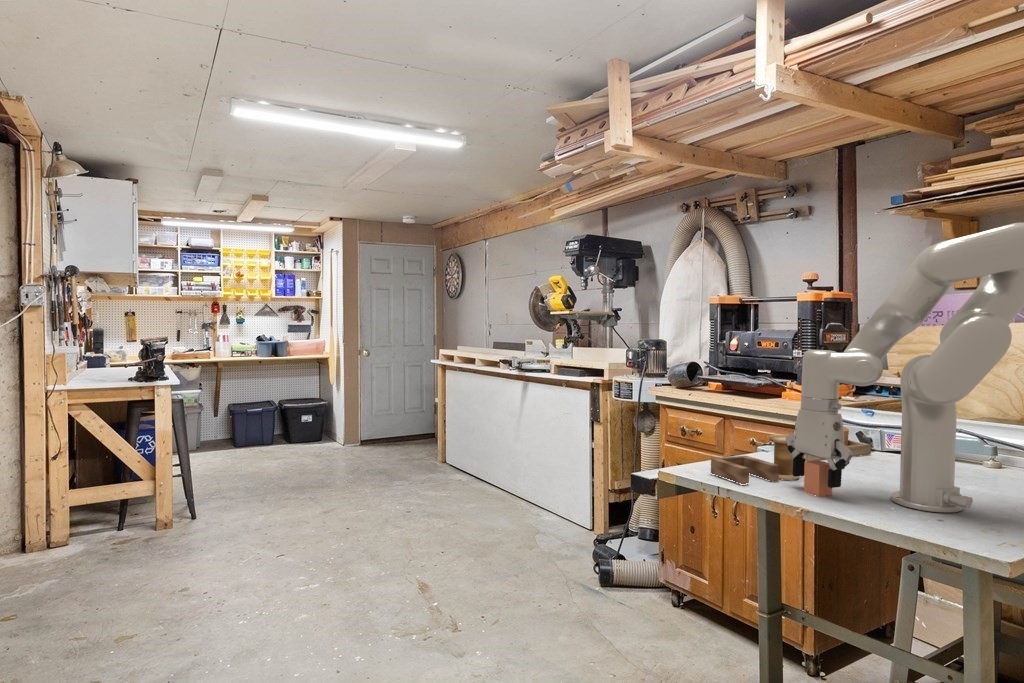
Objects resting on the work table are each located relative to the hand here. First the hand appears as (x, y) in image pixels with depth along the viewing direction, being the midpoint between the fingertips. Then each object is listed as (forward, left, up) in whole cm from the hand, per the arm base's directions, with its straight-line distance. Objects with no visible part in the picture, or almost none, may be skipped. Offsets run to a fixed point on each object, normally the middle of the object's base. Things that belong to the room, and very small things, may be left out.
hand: (815, 481), depth 137 cm
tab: (0, 0, -3) cm, 3 cm away
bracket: (+31, -39, -3) cm, 50 cm away
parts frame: (+31, -36, -3) cm, 48 cm away
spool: (+14, -4, -3) cm, 15 cm away
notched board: (+16, +6, -3) cm, 17 cm away
